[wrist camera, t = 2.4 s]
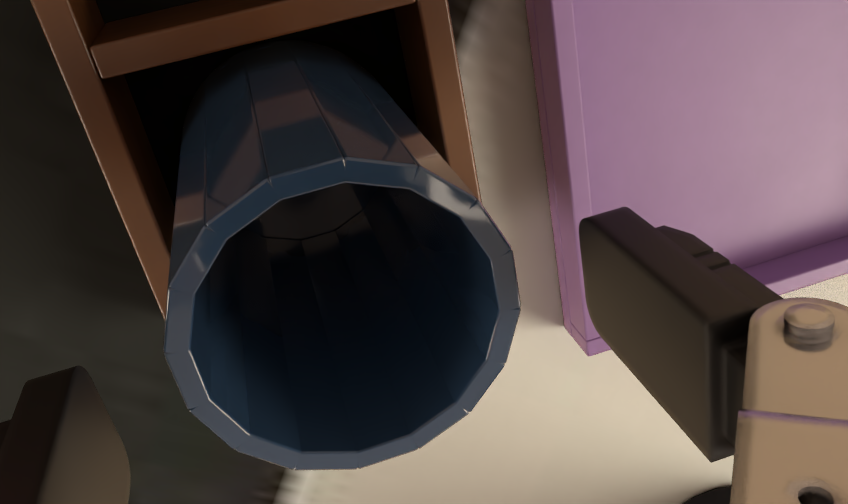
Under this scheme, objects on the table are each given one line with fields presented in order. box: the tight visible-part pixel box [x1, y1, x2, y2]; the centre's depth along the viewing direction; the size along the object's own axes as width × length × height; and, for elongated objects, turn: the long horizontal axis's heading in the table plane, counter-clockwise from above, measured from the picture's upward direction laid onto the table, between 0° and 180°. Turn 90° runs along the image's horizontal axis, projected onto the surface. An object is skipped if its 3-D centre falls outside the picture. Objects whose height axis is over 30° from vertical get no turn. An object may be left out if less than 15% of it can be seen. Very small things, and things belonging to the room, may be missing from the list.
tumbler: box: [163, 40, 521, 470], centre depth 16 cm, size 6×6×10 cm
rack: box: [30, 0, 482, 321], centre depth 17 cm, size 16×8×3 cm, turn 11°
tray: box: [525, 0, 848, 356], centre depth 22 cm, size 14×12×2 cm
